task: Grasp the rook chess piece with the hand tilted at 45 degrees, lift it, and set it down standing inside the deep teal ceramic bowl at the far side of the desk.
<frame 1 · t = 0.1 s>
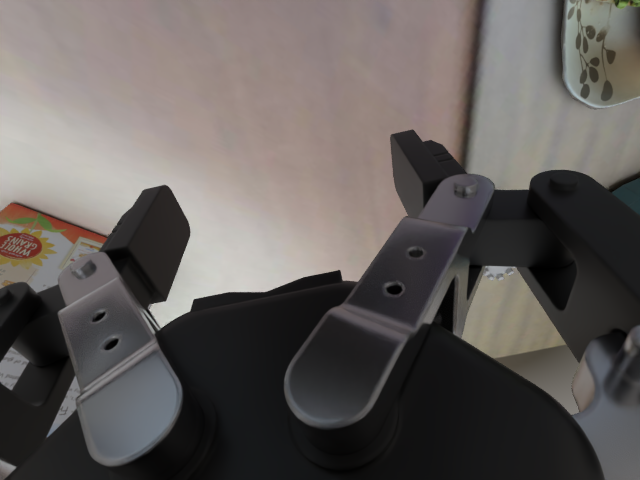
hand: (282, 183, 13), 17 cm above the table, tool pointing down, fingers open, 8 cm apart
cracker box: (91, 251, 35), on the table
rook chess piece: (462, 214, 36), on the table
bowl: (629, 226, 38), on the table
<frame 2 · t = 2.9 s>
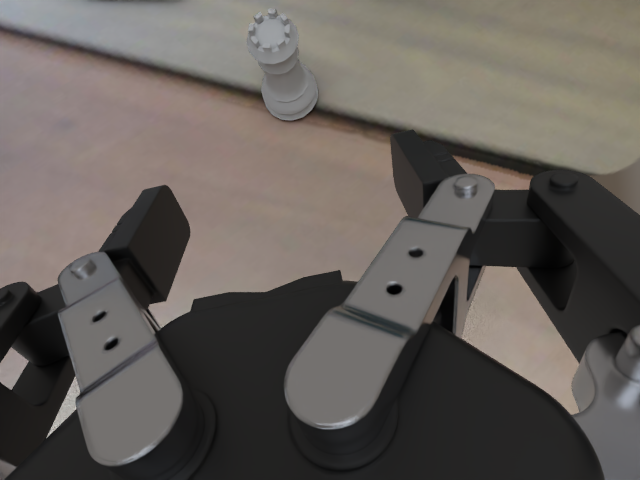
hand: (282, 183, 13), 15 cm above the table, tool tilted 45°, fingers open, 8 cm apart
rook chess piece: (292, 98, 29), on the table
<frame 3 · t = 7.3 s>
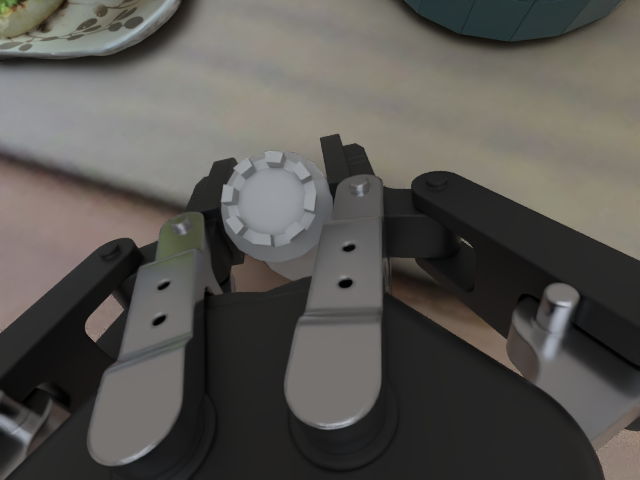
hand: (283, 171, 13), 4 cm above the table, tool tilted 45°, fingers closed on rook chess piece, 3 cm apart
rook chess piece: (307, 236, 17), on the table, touching gripper
when the fingers open (5 cm above the table, at t = 16.2 s): rook chess piece stays where it is, resting on bowl.
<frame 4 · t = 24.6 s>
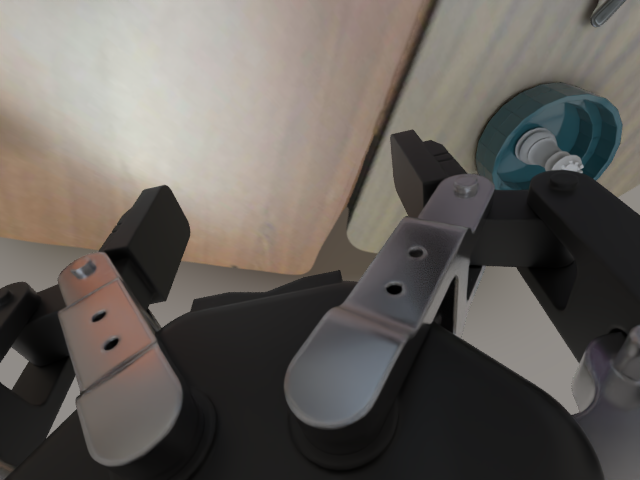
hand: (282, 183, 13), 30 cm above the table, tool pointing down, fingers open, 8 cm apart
rook chess piece: (530, 143, 45), point 1 cm above the table, touching bowl
bowl: (529, 140, 45), on the table
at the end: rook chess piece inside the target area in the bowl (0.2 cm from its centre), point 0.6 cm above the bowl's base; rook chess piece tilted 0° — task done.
